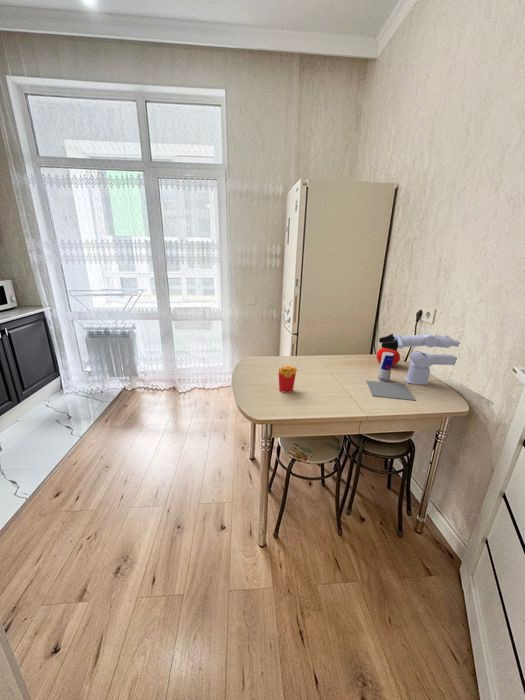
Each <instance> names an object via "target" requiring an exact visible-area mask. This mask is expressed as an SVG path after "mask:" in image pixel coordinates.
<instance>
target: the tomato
mask: <svg viewBox="0 0 525 700" xmlns="http://www.w3.org/2000/svg"><path fill="white" fill-rule="evenodd" d="M383 352H390V353H393V354H394V358H393V363H392V366H394V365H397V364H398V363H399V362H400V360H401V355H400V353H399V351H398V350H397V351H395V350H393V349H389V348H383V347H381V348H379V349H378V350H377V352H376V360H377V362H378V363H379V364H381V359H382V354H383Z"/></svg>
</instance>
